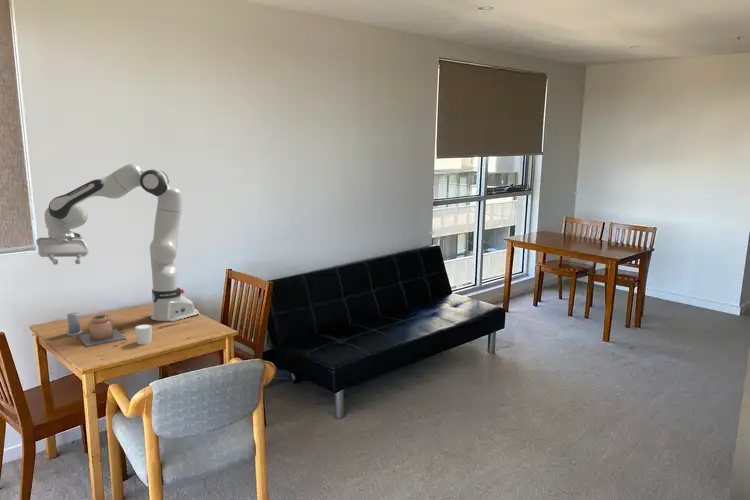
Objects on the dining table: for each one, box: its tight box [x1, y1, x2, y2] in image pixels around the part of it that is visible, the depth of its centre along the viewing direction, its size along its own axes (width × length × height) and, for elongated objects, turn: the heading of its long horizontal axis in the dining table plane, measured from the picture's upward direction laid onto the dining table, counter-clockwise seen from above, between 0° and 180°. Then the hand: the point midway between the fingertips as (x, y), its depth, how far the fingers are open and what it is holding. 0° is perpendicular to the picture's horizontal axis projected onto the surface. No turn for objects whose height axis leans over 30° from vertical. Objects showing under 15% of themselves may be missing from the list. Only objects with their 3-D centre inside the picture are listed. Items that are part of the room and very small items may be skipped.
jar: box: [76, 314, 127, 348], centre depth 247 cm, size 16×16×10 cm
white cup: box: [134, 324, 153, 346], centre depth 243 cm, size 7×7×7 cm
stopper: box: [65, 312, 84, 337], centre depth 252 cm, size 6×6×9 cm
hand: (67, 263), depth 255 cm, fingers open, 8 cm apart
